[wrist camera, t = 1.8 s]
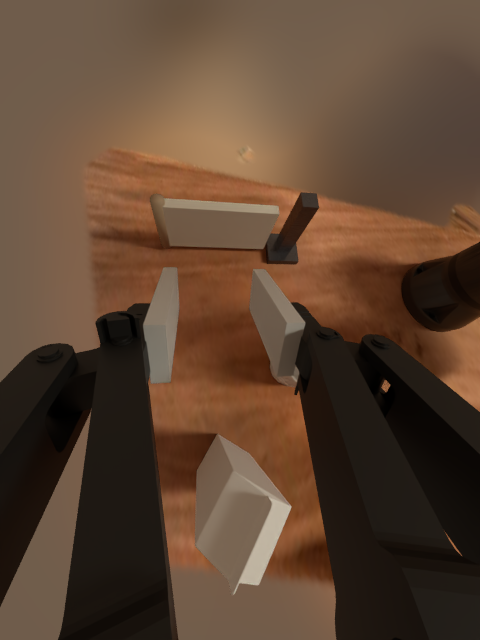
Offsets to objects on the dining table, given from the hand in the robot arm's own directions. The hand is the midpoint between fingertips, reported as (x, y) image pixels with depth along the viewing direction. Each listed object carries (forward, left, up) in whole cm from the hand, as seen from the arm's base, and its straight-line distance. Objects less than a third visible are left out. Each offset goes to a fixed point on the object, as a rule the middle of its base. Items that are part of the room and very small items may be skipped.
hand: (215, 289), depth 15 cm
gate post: (-16, -20, -28) cm, 38 cm away
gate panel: (-2, -20, -27) cm, 34 cm away
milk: (-3, +17, -28) cm, 33 cm away
